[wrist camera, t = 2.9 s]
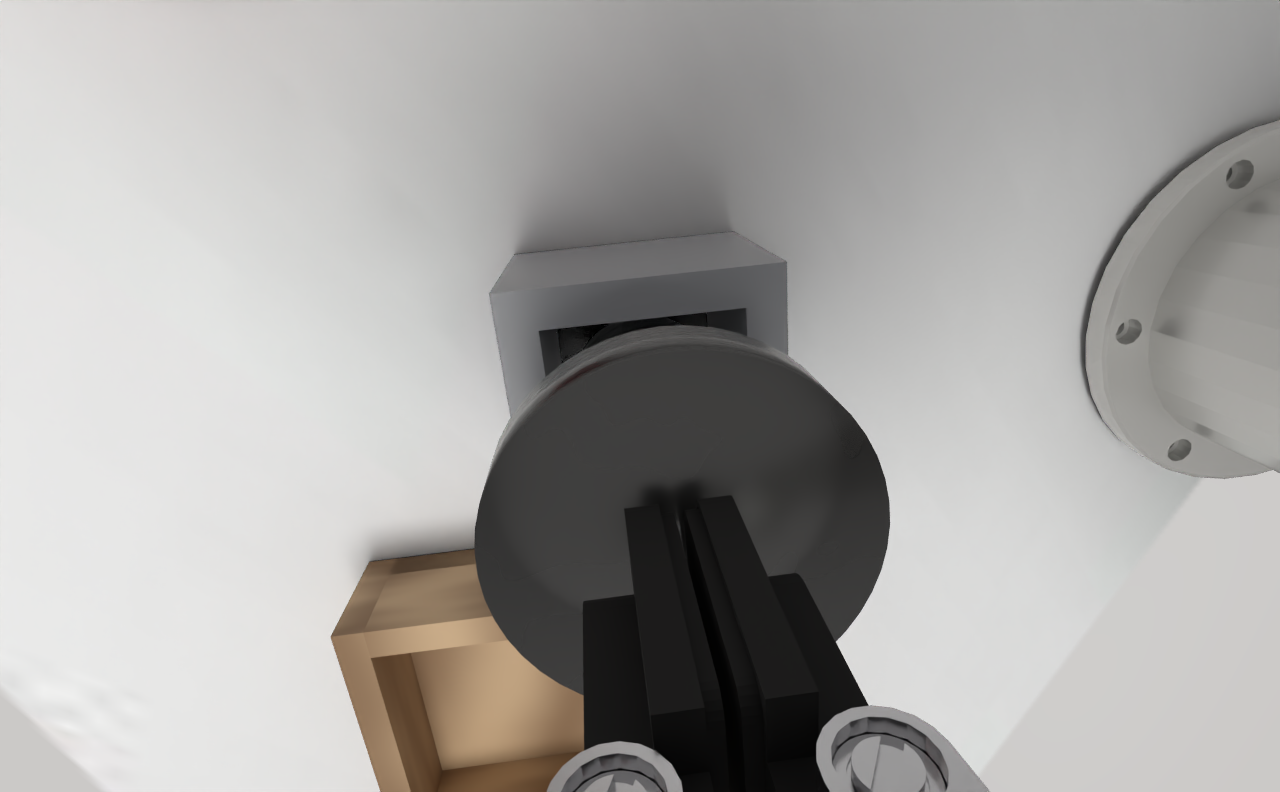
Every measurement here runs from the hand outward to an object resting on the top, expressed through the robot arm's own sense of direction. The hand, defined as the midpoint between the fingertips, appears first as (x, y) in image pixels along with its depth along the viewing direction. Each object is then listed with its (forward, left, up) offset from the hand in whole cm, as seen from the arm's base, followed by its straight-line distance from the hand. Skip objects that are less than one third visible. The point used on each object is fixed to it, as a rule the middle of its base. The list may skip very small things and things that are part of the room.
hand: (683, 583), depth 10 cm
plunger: (0, 0, -9) cm, 9 cm away
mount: (0, 0, -13) cm, 13 cm away
